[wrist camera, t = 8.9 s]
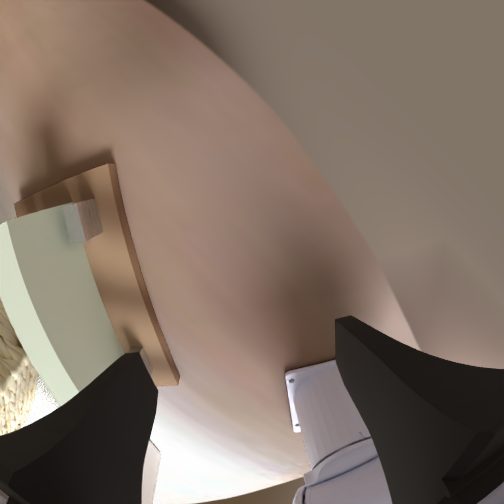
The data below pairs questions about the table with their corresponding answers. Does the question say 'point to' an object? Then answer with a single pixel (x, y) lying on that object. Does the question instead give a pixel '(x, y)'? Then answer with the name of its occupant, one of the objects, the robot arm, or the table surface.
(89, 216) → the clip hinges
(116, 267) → the mount plate
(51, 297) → the door panel
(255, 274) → the table surface
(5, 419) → the storage basket
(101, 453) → the robot arm
